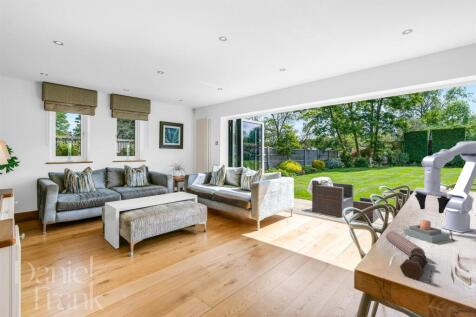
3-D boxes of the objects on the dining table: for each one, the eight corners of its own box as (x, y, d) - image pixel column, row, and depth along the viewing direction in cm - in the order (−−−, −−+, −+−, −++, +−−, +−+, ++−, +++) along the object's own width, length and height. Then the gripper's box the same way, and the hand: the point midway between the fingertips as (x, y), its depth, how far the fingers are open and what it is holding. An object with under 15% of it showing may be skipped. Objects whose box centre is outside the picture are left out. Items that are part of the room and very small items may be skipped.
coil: (384, 230, 98) (410, 248, 81) (396, 230, 98) (425, 247, 80) (385, 241, 99) (412, 261, 81) (397, 240, 98) (426, 260, 80)
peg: (422, 235, 105) (423, 219, 104) (432, 237, 101) (432, 221, 101) (418, 236, 103) (418, 220, 103) (427, 239, 100) (427, 222, 100)
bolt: (423, 268, 79) (413, 284, 69) (407, 256, 82) (396, 270, 72) (434, 256, 77) (426, 270, 66) (418, 244, 80) (408, 256, 70)
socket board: (421, 230, 110) (421, 222, 110) (449, 239, 100) (449, 229, 100) (404, 234, 106) (404, 225, 106) (431, 243, 95) (432, 233, 95)
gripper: (410, 180, 113) (409, 208, 113) (445, 184, 100) (444, 215, 100) (419, 179, 116) (418, 206, 116) (455, 183, 102) (454, 214, 102)
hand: (431, 211), depth 108 cm, fingers open, 7 cm apart
